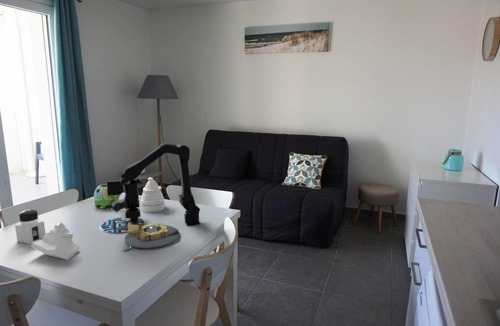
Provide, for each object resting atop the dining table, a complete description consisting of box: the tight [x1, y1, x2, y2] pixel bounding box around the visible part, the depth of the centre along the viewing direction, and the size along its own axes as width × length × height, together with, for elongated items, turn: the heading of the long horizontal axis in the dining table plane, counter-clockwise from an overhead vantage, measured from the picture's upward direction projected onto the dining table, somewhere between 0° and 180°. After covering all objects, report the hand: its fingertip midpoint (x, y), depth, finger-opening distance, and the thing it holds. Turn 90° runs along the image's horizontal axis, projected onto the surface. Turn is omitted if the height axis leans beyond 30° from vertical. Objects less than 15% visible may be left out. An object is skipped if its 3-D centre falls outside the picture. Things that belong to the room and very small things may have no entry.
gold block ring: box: [127, 221, 169, 241], centre depth 146 cm, size 19×15×4 cm
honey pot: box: [140, 177, 166, 213], centre depth 184 cm, size 13×13×18 cm
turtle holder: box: [93, 183, 121, 210], centre depth 188 cm, size 12×18×12 cm
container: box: [14, 209, 46, 245], centre depth 143 cm, size 8×8×13 cm
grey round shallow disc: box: [123, 224, 180, 253], centre depth 145 cm, size 23×23×5 cm
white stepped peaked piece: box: [30, 221, 80, 261], centre depth 130 cm, size 12×15×14 cm
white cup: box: [119, 208, 131, 221], centre depth 167 cm, size 8×8×10 cm
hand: (134, 225), depth 152 cm, fingers closed
